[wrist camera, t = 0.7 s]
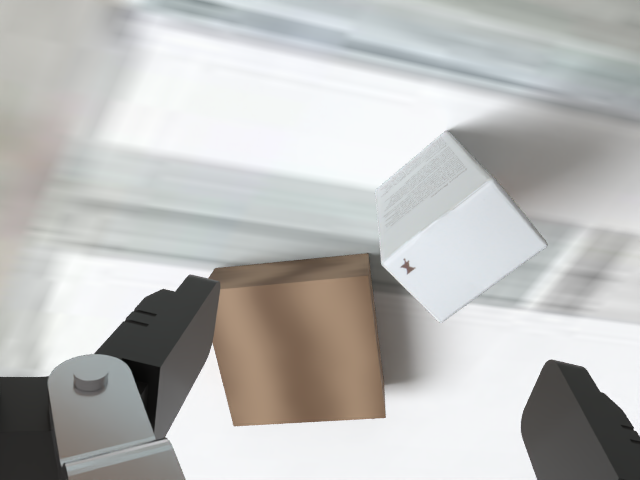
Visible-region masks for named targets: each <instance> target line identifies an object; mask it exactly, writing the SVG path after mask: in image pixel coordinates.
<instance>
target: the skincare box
mask: <svg viewBox="0 0 640 480" xmlns="http://www.w3.org/2000/svg"><path fill="white" fill-rule="evenodd" d="M375 196H376V207H377V219H378V230H379V242H380V254H381V264H382V266H383V267H384V268H385V269H386V270H387V271H388V272H389V273H390V274H391V275H392V276H393V277H394V278H395V279H396V280H397V281H398V282H399V283H400V284H401V285H402V286H403V287H404V288H405V289H406V290H407V291H408V292H409V293H410V294H411V295H412V296H413V297H414V298H415V299H416V300H417V301H418V302H419V303H420V304H421V305H422V306H423V307H424V308H425V309H426V310H427V311H428V312H429V313H430V314H431V315H432V316H433V317H434V318H435V319H436V320H437V321H438V322H439V323H441V322H443V321H445V320H446V319H447V318H449V317H450V316H452V315H453V314H455V313H456V312H457V311H459V310H460V309H461V308H463V307H464V306H466V305H467V304H469V303H470V302H471V301H473V300H474V299H475V298H477V297H478V296H480V295H481V294H482V293H484V292H485V291H486V290H488V289H489V288H490V287H492V286H493V285H495V284H496V283H497V282H499V281H500V280H501V279H503V278H504V277H505V276H507V275H508V274H510V273H511V272H512V271H514V270H515V269H517V268H518V267H519V266H521V265H522V264H523V263H525V262H526V261H528V260H529V259H530V258H532V257H533V256H535V255H536V254H537V253H539V252H540V251H542V250H543V249H545V248H546V247H547V245H548V244H547V242H546V241H545V239H544V238H543V237H542V236H541V234H540V233H539V232H538V231H537V229H536V228H535V227H534V226H533V224H532V223H531V222H530V221H529V219H528V218H527V217H526V216H525V214H524V213H523V212H522V211H521V210H520V208H519V207H518V206H517V205H516V203H515V202H514V201H513V200H512V198H511V197H510V196H509V195H508V193H507V192H506V191H505V190H504V189H503V187H502V186H501V185H500V184H499V183H498V182H497V180H496V179H495V178H494V177H493V176H492V175H491V174H490V173H489V172H488V171H487V170H486V169H485V168H484V167H483V166H481V165H480V164H479V163H478V162H477V160H476V159H475V158H474V157H473V156H472V155H471V154H470V153H469V152H468V151H467V150H466V149H465V148H464V147H463V146H462V145H461V144H460V143H459V141H458V140H457V139H456V138H455V137H454V136H453V135H452V134H451V133H450V132H449V131H444V132H443V133H442V134H441V135H440V136H439V137H437V138H436V139H435V140H434V141H433V142H431V143H430V144H429V145H428V146H427V147H426V148H424V149H423V150H422V151H421V152H420V153H418V154H417V155H416V156H415V157H414V158H412V159H411V160H410V161H409V162H408V163H407V164H405V165H404V166H403V167H402V168H401V169H399V170H398V171H397V172H396V173H395V174H394V175H393V176H391V177H390V178H389V179H388V180H387V181H385V182H384V183H383V184H382V185H381V186H380V187H378V188H377V189H376V190H375Z"/></svg>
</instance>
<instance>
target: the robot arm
mask: <svg viewBox="0 0 640 480" xmlns="http://www.w3.org/2000/svg"><path fill="white" fill-rule="evenodd" d="M219 295H220V282H219V281H216V280H212V279H208V278H203V277H199V276H195V275H188V277H187V278H186V279H185V280H184V281H183V283H182V284H181V285H180V286H179V288H178V289H177V290H176V291H175V292H174V291H170V290H165V289H162V290H160V291H158V292H155V293H153V294H151V295H149V296H147V297H145V298H144V299H143V300H142V301H141V303H140V304H139V305H138V306H137V307H136V308H135V310H134V312H133V311H132V313H131V314H130V315H129V316H128V317H127V318H126V320H125V322H124V321H123V322H122V324H121V325H120V326H119V327H118V328H117V329H116V330H115V331H114V332H113V334H112V335H111V336H110V337H109V338H108V339H107V340H106V341H105V342H104V344H103V345H102V346H101V347H100V348H99V349H98V350H97V351H96V352H95V353H94V354H90V355H83V356H78V357H75V358H71V359H69V360H67V361H65V362H63V363H61V364H60V365H58V366H57V367H56V368H55V369H54V370H53V371H52V372H51V374H50V376H47V377H0V480H185V477H184V474H183V472H182V469H181V467H180V464H179V462H178V459H177V457H176V454H175V452H174V449H173V447H172V444H171V443H170V441H169V440H168V439H167V438H165V436H166V434H167V432H168V431H169V429H170V427H171V425H172V423H173V421H174V419H175V418H176V416H177V414H178V412H179V410H180V408H181V406H182V405H183V403H184V401H185V399H186V397H187V395H188V393H189V392H190V390H191V388H192V386H193V384H194V382H195V380H196V379H197V377H198V375H199V373H200V371H201V369H202V367H203V366H204V364H205V362H206V360H207V357H208V355H209V352H210V349H211V346H212V342H213V337H214V330H215V323H216V316H217V309H218V302H219ZM633 429H634V427H633V426H632V424H631V423H630V421H629V419H628V418H627V416H626V415H625V413H624V412H623V410H622V409H621V408H620V407H618V406H617V405H616V404H615V403H614V402H613V401H612V400H611V399H610V398H609V397H608V396H606V395H605V394H604V393H601V392H600V391H599V389H598V387H597V386H596V384H595V383H594V381H593V379H592V378H591V376H590V375H589V373H588V371H587V370H586V369H585V368H584V367H582V366H577V365H573V364H569V363H564V362H560V361H556V360H549V361H547V362H546V363H545V365H544V366H543V368H542V370H541V373H540V375H539V377H538V379H537V382H536V384H535V386H534V388H533V390H532V393H531V395H530V397H529V399H528V402H527V404H526V406H525V408H524V411H523V414H522V419H521V433H522V438H523V441H524V444H525V446H526V449H527V452H528V455H529V458H530V460H531V463H532V466H533V469H534V472H535V475H536V477H537V480H640V436H639V435H638V433H637V432H636V431H634V430H633Z"/></svg>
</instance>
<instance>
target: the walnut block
mask: <svg viewBox="0 0 640 480" xmlns="http://www.w3.org/2000/svg"><path fill="white" fill-rule="evenodd" d="M208 279H212V280H216V281H219V282H220V295H219V302H218V309H217V316H216V323H215V330H214V337H213V346H214V350H215V354H216V358H217V362H218V366H219V370H220V374H221V378H222V382H223V386H224V389H225V393H226V397H227V401H228V405H229V409H230V413H231V417H232V421H233V425H234V426H248V425H266V424H284V423H302V422H320V421H338V420H356V419H374V418H386V414H385V392H384V380H383V371H382V363H381V355H380V346H379V338H378V330H377V321H376V313H375V305H374V296H373V288H372V280H371V271H370V263H369V255H368V253H365V254H355V255H345V256H335V257H325V258H315V259H304V260H294V261H284V262H274V263H264V264H254V265H243V266H233V267H223V268H215V269H214V271H213V272H212V274H211V275H210V277H209V278H208Z"/></svg>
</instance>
